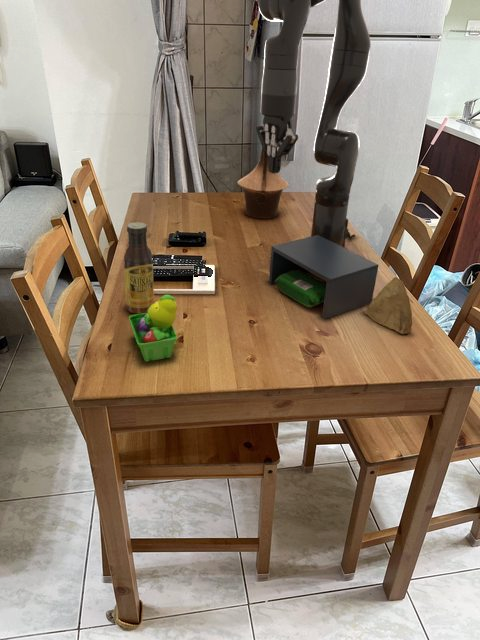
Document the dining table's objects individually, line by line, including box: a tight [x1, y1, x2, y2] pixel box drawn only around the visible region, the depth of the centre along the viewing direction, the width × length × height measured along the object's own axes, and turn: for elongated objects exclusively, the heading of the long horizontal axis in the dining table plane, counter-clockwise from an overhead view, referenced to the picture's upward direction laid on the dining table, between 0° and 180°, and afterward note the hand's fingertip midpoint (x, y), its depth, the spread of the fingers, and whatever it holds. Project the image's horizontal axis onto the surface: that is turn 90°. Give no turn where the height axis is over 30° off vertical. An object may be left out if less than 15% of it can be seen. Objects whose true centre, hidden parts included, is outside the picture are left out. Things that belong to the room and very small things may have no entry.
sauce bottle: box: [123, 221, 155, 314], centre depth 111 cm, size 6×6×20 cm
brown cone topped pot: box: [237, 141, 290, 219], centre depth 166 cm, size 18×17×28 cm
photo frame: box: [153, 264, 216, 295], centre depth 128 cm, size 15×1×18 cm
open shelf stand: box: [268, 235, 379, 320], centre depth 123 cm, size 15×21×10 cm
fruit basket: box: [128, 294, 178, 362], centre depth 100 cm, size 11×9×11 cm
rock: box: [364, 276, 413, 335], centre depth 112 cm, size 11×9×10 cm
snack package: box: [274, 270, 327, 308], centre depth 121 cm, size 7×16×5 cm, turn 35°
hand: (274, 172), depth 119 cm, fingers closed
